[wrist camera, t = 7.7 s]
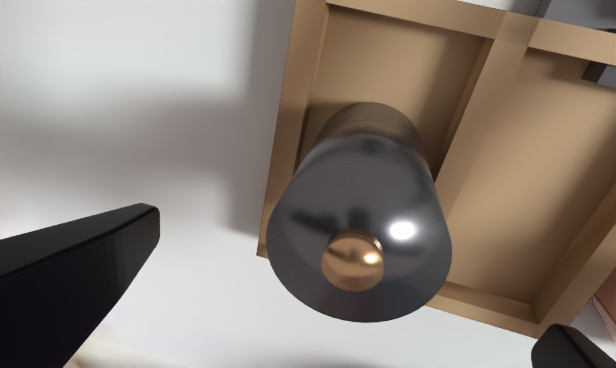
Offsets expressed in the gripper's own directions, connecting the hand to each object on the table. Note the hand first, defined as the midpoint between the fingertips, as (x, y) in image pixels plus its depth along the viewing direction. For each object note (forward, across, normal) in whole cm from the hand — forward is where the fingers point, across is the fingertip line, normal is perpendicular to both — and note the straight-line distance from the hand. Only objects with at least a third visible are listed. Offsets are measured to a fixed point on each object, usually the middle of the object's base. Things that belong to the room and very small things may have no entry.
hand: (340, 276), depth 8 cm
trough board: (+8, -3, 0) cm, 9 cm away
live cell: (+8, 0, 0) cm, 8 cm away
